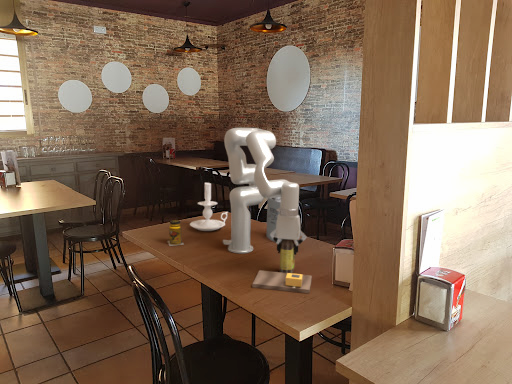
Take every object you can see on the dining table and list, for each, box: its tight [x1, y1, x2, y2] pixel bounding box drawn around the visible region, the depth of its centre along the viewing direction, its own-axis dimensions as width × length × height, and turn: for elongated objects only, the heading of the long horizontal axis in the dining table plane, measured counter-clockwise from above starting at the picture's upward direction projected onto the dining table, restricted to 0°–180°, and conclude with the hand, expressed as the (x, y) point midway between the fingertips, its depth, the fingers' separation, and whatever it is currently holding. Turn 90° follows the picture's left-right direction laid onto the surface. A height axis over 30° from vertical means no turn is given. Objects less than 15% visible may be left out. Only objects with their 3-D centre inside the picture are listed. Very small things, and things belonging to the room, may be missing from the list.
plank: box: [251, 270, 313, 294], centre depth 156 cm, size 22×14×2 cm, turn 79°
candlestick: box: [189, 182, 229, 232], centre depth 228 cm, size 21×25×28 cm
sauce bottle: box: [279, 239, 296, 274], centre depth 166 cm, size 6×6×20 cm
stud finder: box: [286, 272, 304, 287], centre depth 151 cm, size 6×5×3 cm
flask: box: [265, 197, 282, 243], centre depth 209 cm, size 17×5×25 cm, turn 30°
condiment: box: [166, 219, 184, 247], centre depth 201 cm, size 7×8×12 cm
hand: (287, 252), depth 166 cm, fingers closed on sauce bottle, 6 cm apart
